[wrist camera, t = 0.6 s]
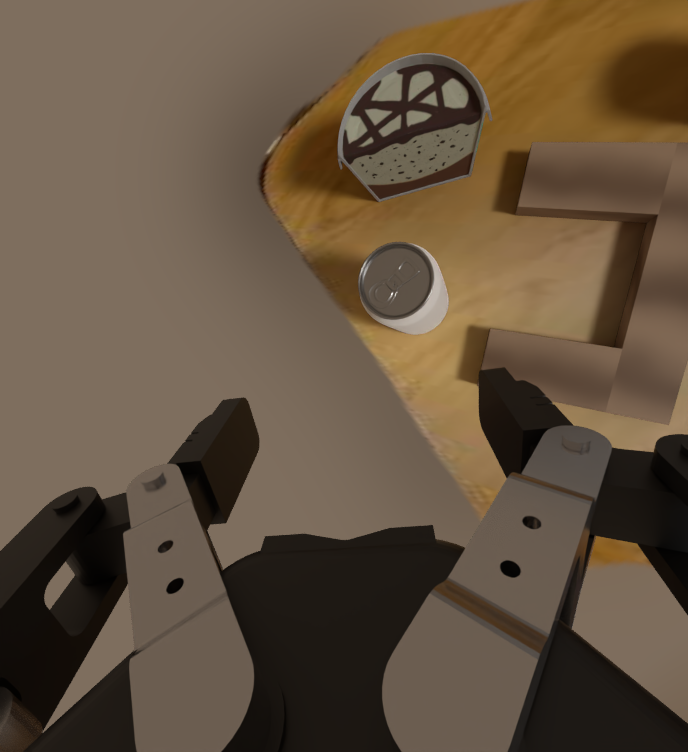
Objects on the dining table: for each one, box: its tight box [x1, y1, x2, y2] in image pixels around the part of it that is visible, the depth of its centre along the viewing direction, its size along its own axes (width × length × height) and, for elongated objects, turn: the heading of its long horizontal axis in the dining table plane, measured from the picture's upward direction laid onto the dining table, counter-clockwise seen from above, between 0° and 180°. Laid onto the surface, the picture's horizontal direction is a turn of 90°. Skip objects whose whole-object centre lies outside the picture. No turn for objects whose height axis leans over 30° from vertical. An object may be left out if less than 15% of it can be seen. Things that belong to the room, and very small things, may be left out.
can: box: [358, 242, 449, 335], centre depth 32 cm, size 6×6×12 cm
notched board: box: [477, 142, 688, 425], centre depth 32 cm, size 22×15×2 cm
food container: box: [337, 53, 492, 202], centre depth 32 cm, size 12×6×10 cm, turn 98°
